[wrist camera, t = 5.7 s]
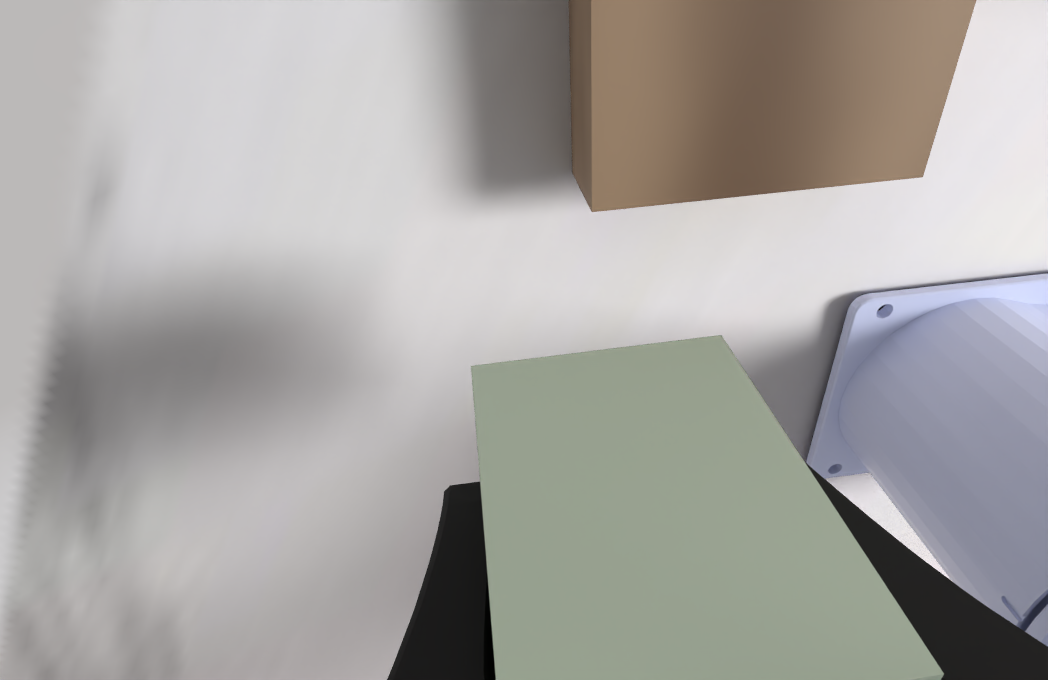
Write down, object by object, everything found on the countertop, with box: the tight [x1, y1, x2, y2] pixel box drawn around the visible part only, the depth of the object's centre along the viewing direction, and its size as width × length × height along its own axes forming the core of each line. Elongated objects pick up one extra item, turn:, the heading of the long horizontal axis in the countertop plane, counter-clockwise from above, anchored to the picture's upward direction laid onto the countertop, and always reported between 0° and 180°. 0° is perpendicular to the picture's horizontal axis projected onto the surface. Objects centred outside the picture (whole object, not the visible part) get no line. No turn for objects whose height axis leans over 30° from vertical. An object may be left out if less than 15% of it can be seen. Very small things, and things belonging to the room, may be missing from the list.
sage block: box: [471, 335, 944, 680], centre depth 10 cm, size 4×4×6 cm
